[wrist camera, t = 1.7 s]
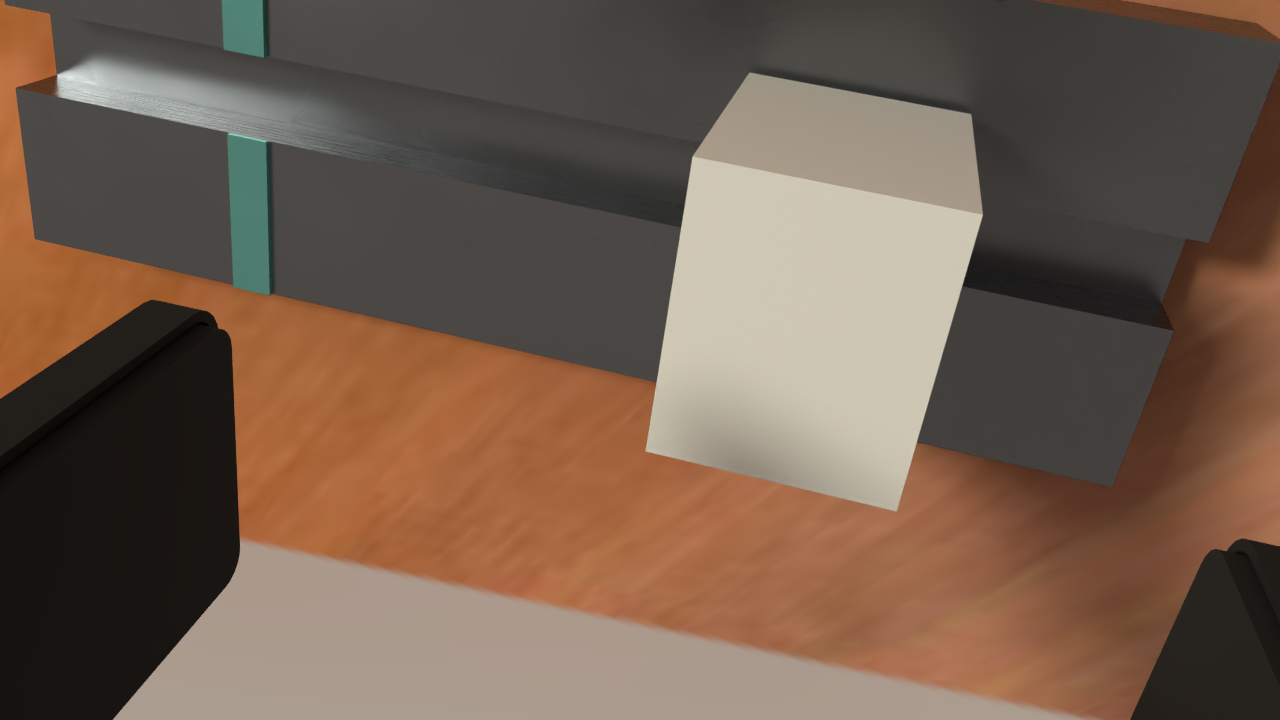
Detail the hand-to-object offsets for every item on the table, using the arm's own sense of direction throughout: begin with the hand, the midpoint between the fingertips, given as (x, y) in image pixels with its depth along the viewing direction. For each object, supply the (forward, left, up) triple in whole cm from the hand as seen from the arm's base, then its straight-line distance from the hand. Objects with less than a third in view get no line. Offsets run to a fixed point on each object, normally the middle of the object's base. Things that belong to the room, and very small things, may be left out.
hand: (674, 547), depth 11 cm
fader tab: (-1, 0, -11) cm, 11 cm away
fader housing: (+4, 0, -12) cm, 13 cm away
